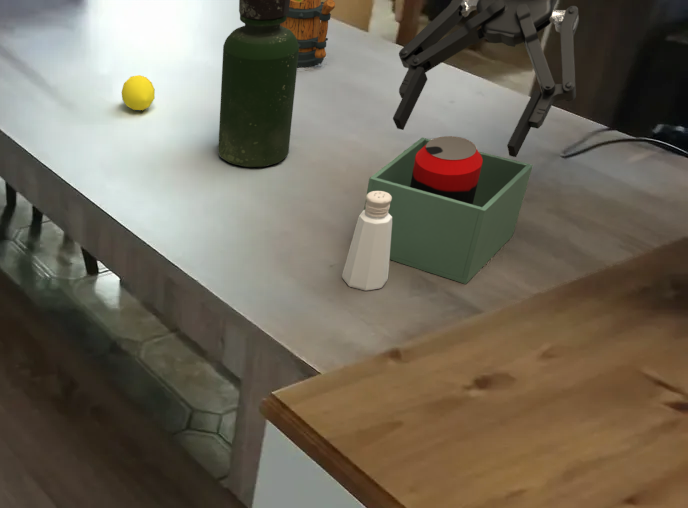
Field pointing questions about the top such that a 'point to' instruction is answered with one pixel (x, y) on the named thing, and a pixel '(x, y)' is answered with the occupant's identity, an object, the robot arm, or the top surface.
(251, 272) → the top surface
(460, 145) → the soda can
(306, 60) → the mug
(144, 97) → the lemon
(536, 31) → the robot arm
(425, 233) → the green open box
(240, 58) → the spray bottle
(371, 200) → the pepper shaker
